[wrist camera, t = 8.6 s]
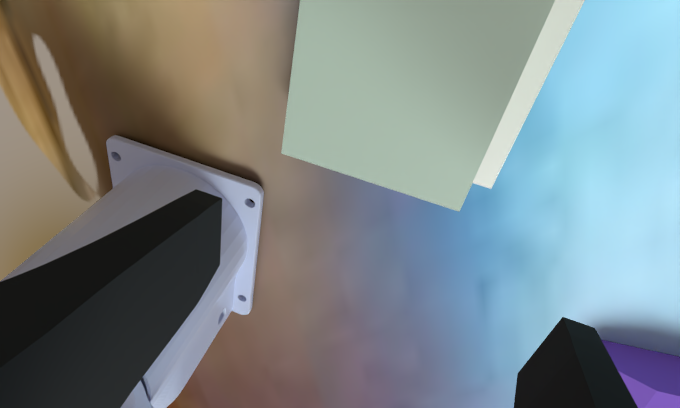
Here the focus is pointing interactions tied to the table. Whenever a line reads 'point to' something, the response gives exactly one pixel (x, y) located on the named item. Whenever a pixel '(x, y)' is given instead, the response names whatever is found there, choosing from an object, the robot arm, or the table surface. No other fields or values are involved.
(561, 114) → the table surface
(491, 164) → the stub plate
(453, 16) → the housing
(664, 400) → the bracket
